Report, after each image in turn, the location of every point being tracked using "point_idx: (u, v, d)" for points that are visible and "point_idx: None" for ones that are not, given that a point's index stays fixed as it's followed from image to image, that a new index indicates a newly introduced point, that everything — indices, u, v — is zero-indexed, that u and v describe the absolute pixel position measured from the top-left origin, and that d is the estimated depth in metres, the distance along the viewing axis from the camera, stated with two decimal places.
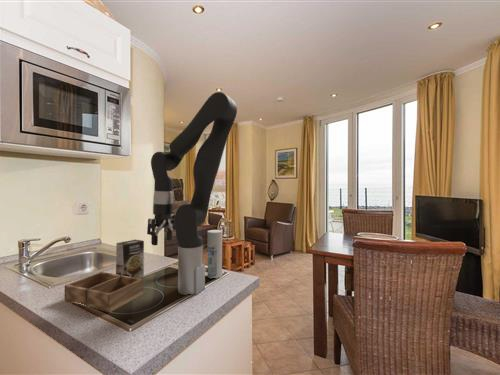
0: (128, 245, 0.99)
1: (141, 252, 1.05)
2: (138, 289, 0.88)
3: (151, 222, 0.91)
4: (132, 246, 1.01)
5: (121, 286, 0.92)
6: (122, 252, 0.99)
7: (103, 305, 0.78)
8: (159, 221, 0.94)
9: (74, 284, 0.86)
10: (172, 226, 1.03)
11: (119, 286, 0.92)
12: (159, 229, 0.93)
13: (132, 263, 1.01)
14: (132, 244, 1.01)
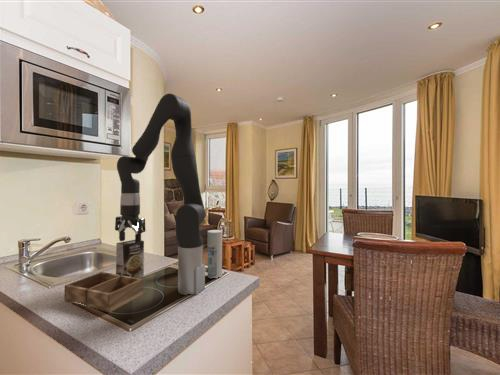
0: (128, 245, 0.99)
1: (141, 252, 1.05)
2: (138, 289, 0.88)
3: (143, 221, 1.01)
4: (132, 246, 1.01)
5: (121, 286, 0.92)
6: (122, 252, 0.99)
7: (103, 305, 0.78)
8: None
9: (74, 284, 0.86)
10: (119, 227, 1.05)
11: (119, 286, 0.92)
12: None
13: (132, 263, 1.01)
14: (132, 244, 1.01)
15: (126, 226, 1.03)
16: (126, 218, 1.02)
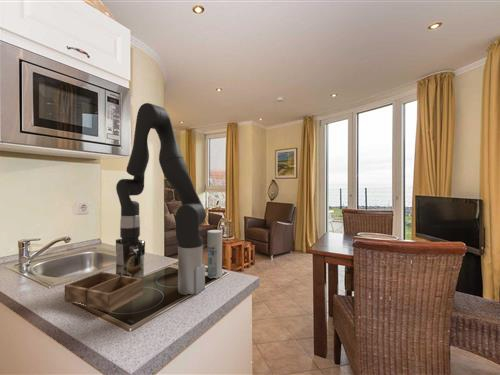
0: (128, 245, 0.99)
1: (141, 252, 1.05)
2: (138, 289, 0.88)
3: (143, 244, 1.02)
4: (132, 246, 1.01)
5: (121, 286, 0.92)
6: (122, 252, 0.99)
7: (103, 305, 0.78)
8: None
9: (74, 284, 0.86)
10: None
11: (119, 286, 0.92)
12: None
13: (132, 263, 1.01)
14: (132, 244, 1.01)
15: None
16: (126, 240, 1.03)
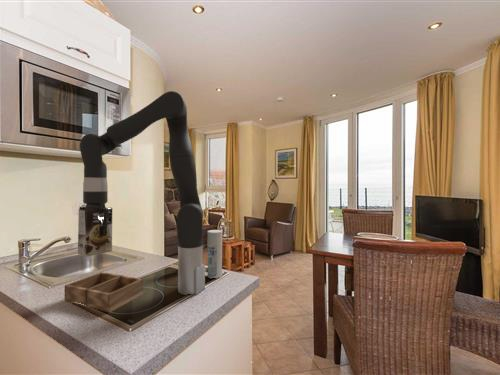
0: (91, 211, 0.84)
1: None
2: (138, 289, 0.88)
3: (110, 211, 0.87)
4: (97, 213, 0.86)
5: (121, 286, 0.92)
6: (84, 219, 0.84)
7: (103, 305, 0.78)
8: None
9: (74, 284, 0.86)
10: None
11: (119, 286, 0.92)
12: None
13: (96, 233, 0.86)
14: (97, 211, 0.86)
15: None
16: (90, 207, 0.88)
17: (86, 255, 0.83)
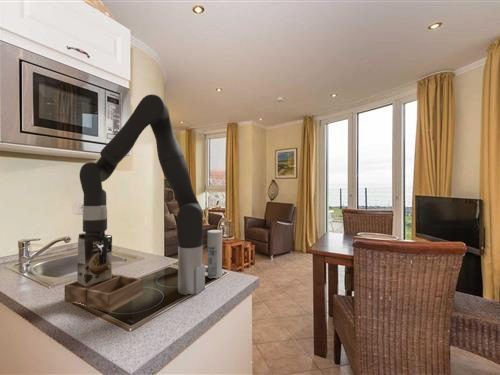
0: (91, 240, 0.84)
1: None
2: (138, 289, 0.88)
3: (110, 239, 0.86)
4: (96, 241, 0.86)
5: (121, 286, 0.92)
6: (83, 248, 0.84)
7: (103, 305, 0.78)
8: None
9: (74, 284, 0.86)
10: None
11: (119, 286, 0.92)
12: None
13: (96, 261, 0.86)
14: (96, 239, 0.86)
15: None
16: (90, 235, 0.88)
17: (86, 284, 0.83)
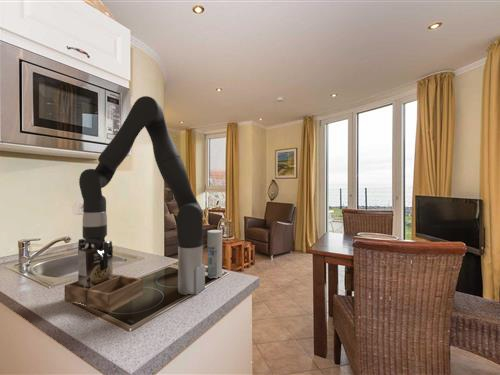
0: (92, 252, 0.84)
1: (109, 260, 0.90)
2: (138, 289, 0.88)
3: (110, 244, 0.86)
4: None
5: (121, 286, 0.92)
6: (84, 260, 0.84)
7: (103, 305, 0.78)
8: None
9: (74, 284, 0.86)
10: None
11: (119, 286, 0.92)
12: None
13: (97, 273, 0.86)
14: None
15: None
16: (90, 241, 0.88)
17: None
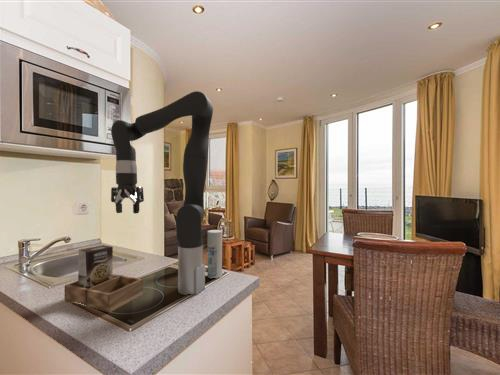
0: (92, 252, 0.84)
1: (109, 260, 0.90)
2: (138, 289, 0.88)
3: (141, 189, 0.95)
4: (97, 253, 0.86)
5: (121, 286, 0.92)
6: (84, 260, 0.84)
7: (103, 305, 0.78)
8: None
9: (74, 284, 0.86)
10: (115, 199, 0.99)
11: (119, 286, 0.92)
12: None
13: (97, 273, 0.86)
14: (97, 251, 0.86)
15: (123, 196, 0.96)
16: (122, 188, 0.96)
17: None
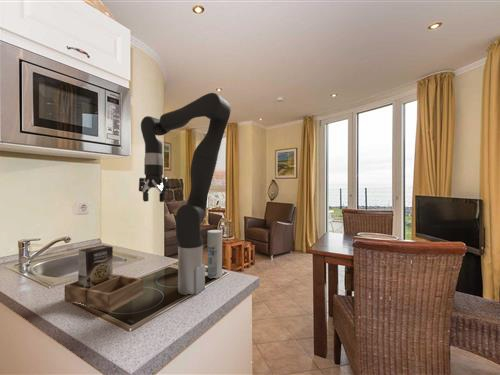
0: (92, 252, 0.84)
1: (109, 260, 0.90)
2: (138, 289, 0.88)
3: (167, 180, 1.03)
4: (97, 253, 0.86)
5: (121, 286, 0.92)
6: (84, 260, 0.84)
7: (103, 305, 0.78)
8: None
9: (74, 284, 0.86)
10: (142, 188, 1.07)
11: (119, 286, 0.92)
12: (163, 187, 1.05)
13: (97, 273, 0.86)
14: (97, 251, 0.86)
15: (150, 186, 1.04)
16: (150, 178, 1.04)
17: None
